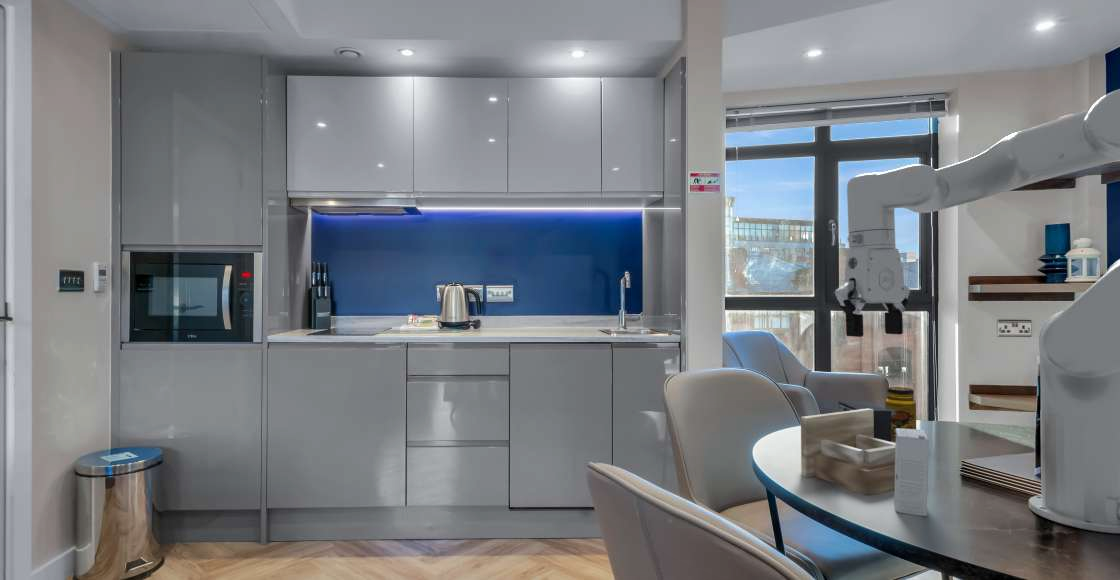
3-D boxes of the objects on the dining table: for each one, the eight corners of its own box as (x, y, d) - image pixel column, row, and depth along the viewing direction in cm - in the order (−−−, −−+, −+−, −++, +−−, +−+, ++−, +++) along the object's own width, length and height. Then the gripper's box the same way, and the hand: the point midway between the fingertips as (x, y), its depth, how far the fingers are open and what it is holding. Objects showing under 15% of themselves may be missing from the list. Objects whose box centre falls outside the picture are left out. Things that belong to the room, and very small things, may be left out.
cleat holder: (929, 481, 102) (928, 420, 102) (858, 497, 95) (858, 431, 95) (860, 460, 115) (860, 406, 115) (793, 472, 108) (793, 415, 108)
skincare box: (893, 500, 94) (892, 426, 94) (925, 504, 91) (924, 429, 92) (895, 513, 88) (895, 435, 88) (930, 518, 86) (929, 438, 86)
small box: (894, 461, 114) (894, 410, 114) (861, 461, 114) (861, 410, 115) (867, 447, 125) (866, 400, 125) (837, 447, 125) (836, 400, 125)
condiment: (892, 444, 128) (891, 390, 128) (874, 434, 136) (874, 384, 136) (926, 444, 127) (925, 391, 127) (906, 435, 135) (906, 384, 135)
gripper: (853, 239, 98) (856, 338, 97) (924, 240, 104) (927, 334, 103) (819, 243, 105) (822, 336, 104) (887, 244, 111) (890, 332, 110)
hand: (874, 335), depth 104 cm, fingers open, 9 cm apart
